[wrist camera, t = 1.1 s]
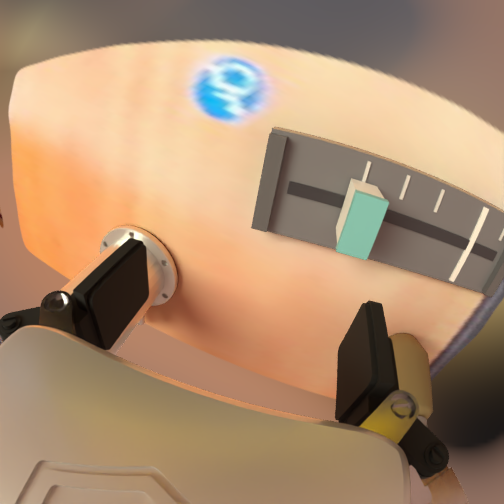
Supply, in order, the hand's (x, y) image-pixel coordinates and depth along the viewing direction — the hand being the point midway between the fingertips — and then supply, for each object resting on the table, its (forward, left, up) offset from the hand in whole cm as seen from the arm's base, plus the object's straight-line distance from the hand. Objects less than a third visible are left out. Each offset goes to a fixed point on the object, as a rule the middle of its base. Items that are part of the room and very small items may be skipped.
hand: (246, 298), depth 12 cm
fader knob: (0, -7, -16) cm, 17 cm away
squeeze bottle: (-18, -21, -19) cm, 33 cm away
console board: (0, -12, -19) cm, 22 cm away
